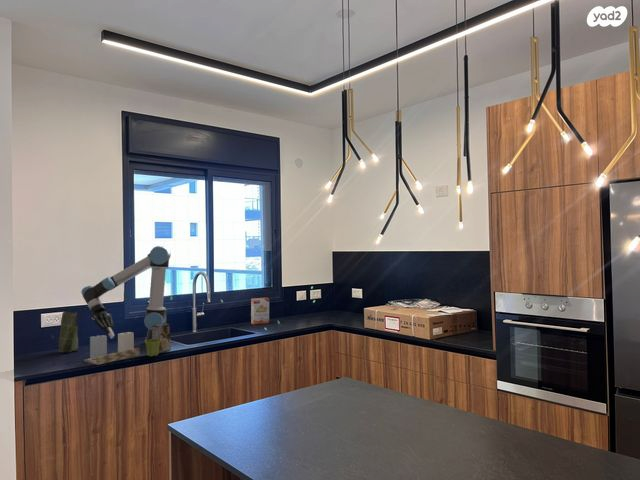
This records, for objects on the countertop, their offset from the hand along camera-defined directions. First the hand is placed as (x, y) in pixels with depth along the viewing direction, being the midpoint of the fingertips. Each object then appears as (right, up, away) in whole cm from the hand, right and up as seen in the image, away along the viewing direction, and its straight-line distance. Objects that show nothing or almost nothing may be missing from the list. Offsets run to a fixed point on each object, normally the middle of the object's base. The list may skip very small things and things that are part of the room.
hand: (112, 336), depth 281 cm
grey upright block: (-1, -8, -16) cm, 18 cm away
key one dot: (+11, -8, -7) cm, 16 cm away
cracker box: (+76, -10, +102) cm, 128 cm away
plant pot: (+26, -10, -5) cm, 29 cm away
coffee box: (+28, -10, +6) cm, 30 cm away
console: (+5, -10, -12) cm, 16 cm away
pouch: (-30, -11, +6) cm, 32 cm away
